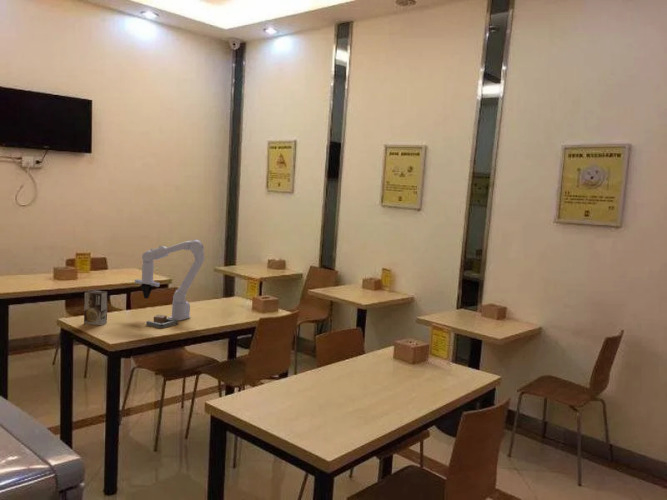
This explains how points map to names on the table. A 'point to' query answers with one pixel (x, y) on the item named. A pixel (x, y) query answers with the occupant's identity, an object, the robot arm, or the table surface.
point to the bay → (169, 323)
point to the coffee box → (95, 307)
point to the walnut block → (160, 319)
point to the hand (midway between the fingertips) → (146, 298)
